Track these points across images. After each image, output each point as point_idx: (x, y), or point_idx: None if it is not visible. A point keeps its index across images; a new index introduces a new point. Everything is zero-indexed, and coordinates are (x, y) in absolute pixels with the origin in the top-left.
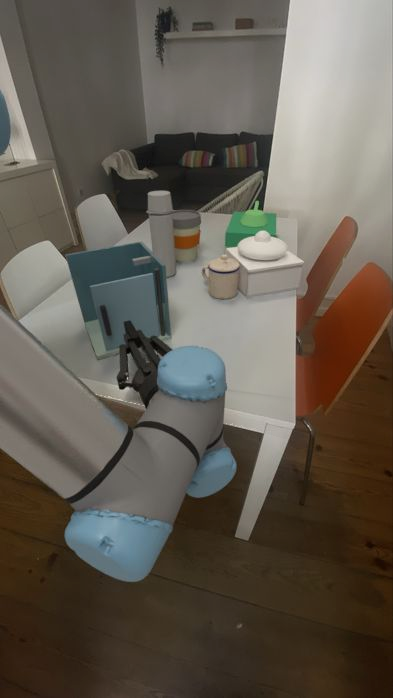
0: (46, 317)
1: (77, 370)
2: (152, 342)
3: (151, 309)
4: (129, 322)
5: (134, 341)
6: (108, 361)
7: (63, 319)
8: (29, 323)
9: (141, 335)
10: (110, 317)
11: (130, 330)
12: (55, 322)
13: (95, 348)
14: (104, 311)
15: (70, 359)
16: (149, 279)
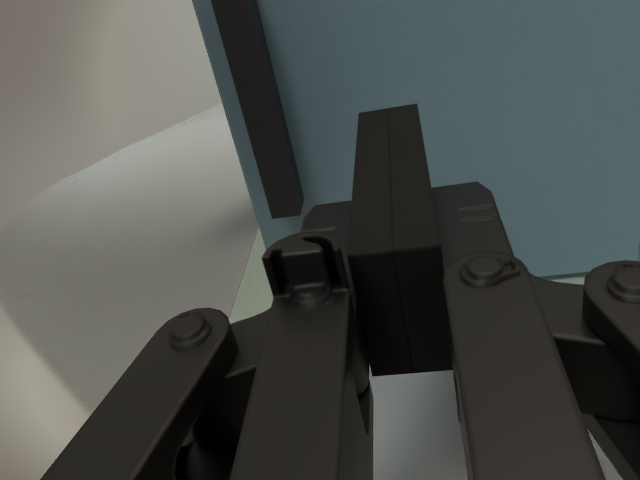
0: (191, 140)
1: (108, 387)
2: (605, 360)
3: (614, 57)
4: (401, 117)
5: (374, 296)
6: None
7: (231, 149)
8: (134, 154)
9: (473, 239)
10: (300, 92)
11: (375, 175)
12: (202, 156)
13: (247, 280)
14: (237, 26)
15: (130, 313)
16: None
